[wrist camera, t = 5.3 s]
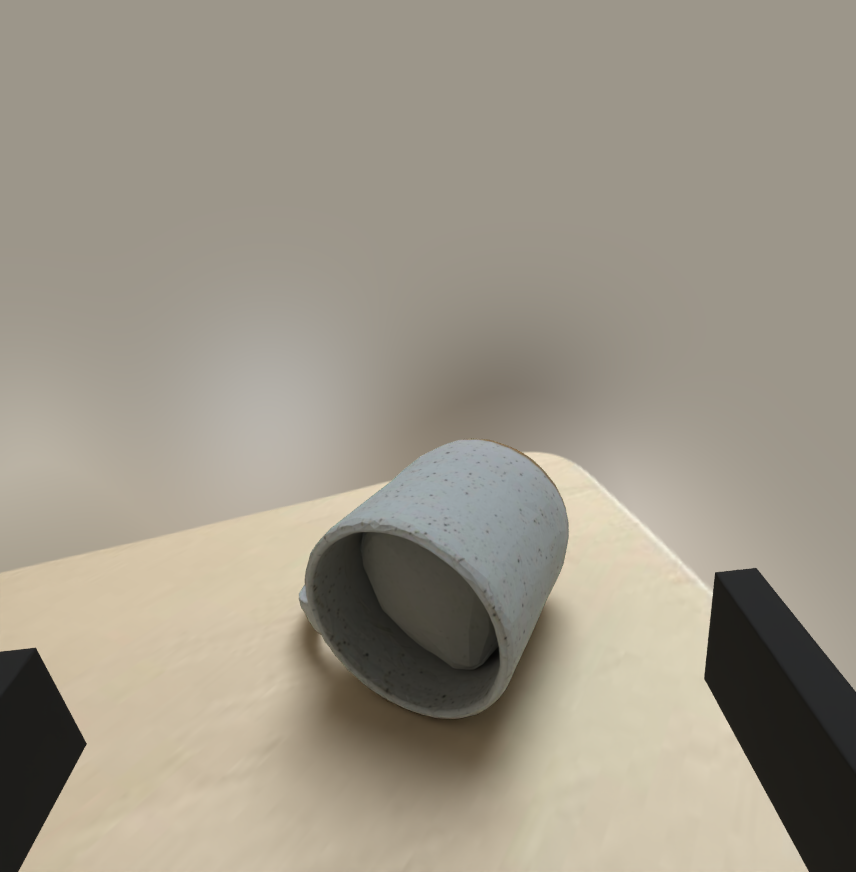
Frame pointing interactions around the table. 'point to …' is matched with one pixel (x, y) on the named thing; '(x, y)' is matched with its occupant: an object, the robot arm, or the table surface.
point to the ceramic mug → (441, 577)
